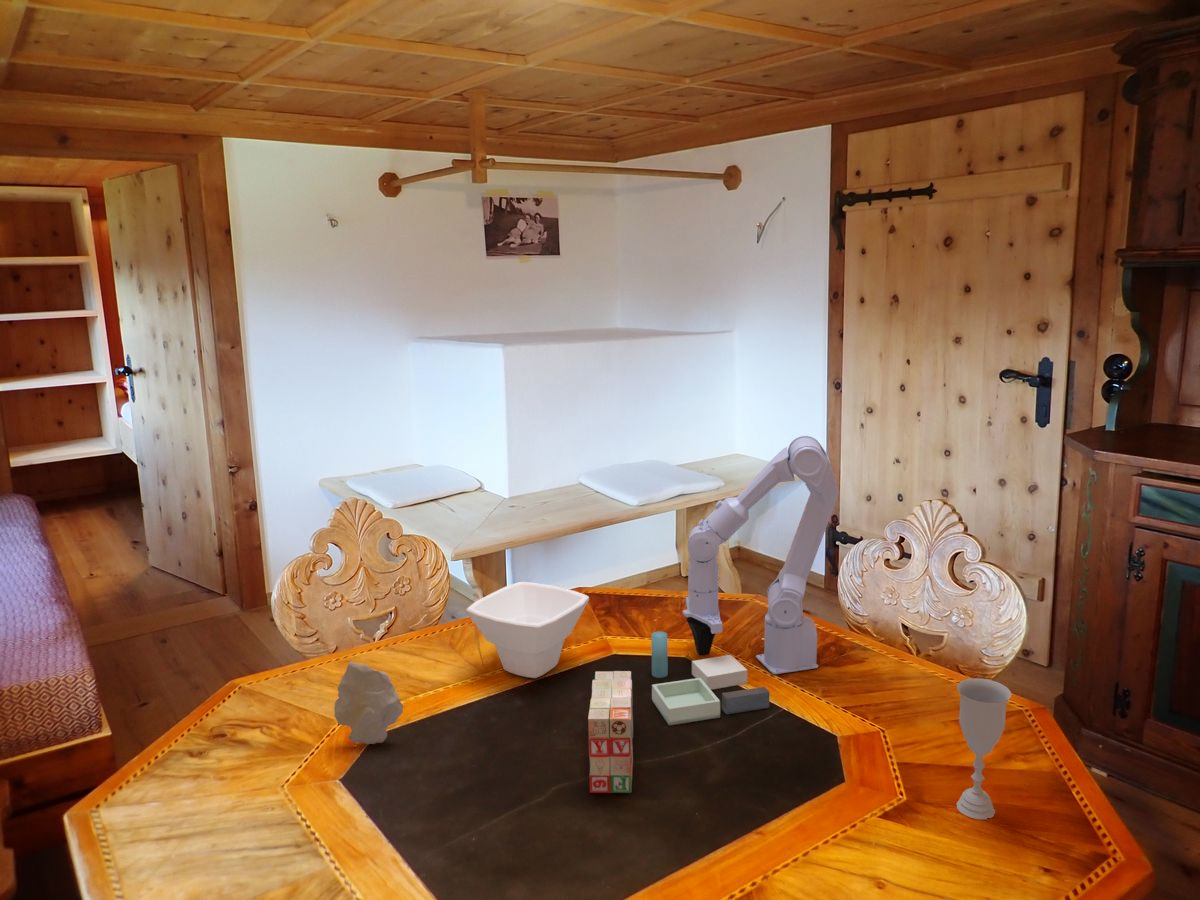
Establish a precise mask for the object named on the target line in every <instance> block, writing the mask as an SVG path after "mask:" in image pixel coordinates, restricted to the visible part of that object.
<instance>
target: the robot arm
mask: <svg viewBox="0 0 1200 900" xmlns="http://www.w3.org/2000/svg"><path fill="white" fill-rule="evenodd" d="M795 475H796V477H798V479H800V480H801V481H802V482H803V483H804V485H805V486H806V488H807V490H808V491H809V496H808V499H807V501H806V504H805V507H804V510H803V512H802V515H801V517H800V521H799V523H798V526H797V528H796V531H795V535H794V536H793V539H792V543H791V545H790V548H789V550H788V553H787V555H786V559H785V561H784V564H783V567H782V568H781V569H780V571H779V572H778V575H777V577H776V579H775V580H774V581H772V583H771V584H770V585H769V586H768V588H767V591H766V597H767V602H768V606H767V608H768V609H767V613H766V614H765V616H764V651H763V652H764V653H762V654H756V656H755V658H756V659H757V660H758V661H759V662H760V663H761V664H762V665H763V666H764V667H765V668H766V669H767V670H768V671H769V672H770V673H771V674H773V675H780V674H786V673H793V672H799V671H808V670H813V669H818V668H819V665H818V664H817V660H818V659H817V657H818V656H817V655H818V653H817V652H818V651H817V650H818V631H817V627H816V625H815V622H814V620H813V619H812V618H811V617H809V616H803V615H804V614H803V612H804V610H803V599H804V598H805V597H804V596H805V593H806V587H807V581H808V577H809V575H810V572H811V569H812V567H813V564H814V563H815V559H816V556H817V553H818V552H819V547H820V545H821V543H822V540H823V538H824V535H825V532H826V530H827V527H828V523H829V522H830V518H831V516H832V514H833V511H834V508H835V506H836V503H837V500H838V498H839V494H840V492H839V487H838V484H837V480H836V478H835V473H834V471H833V466H832V463H831V461H830V458H829V456H828V453H827V452H826V451H825V449H824V447H823V446H822V444H821V443H820V442H819V441H818V440H817V439H816V438H814V436H813V437H812V436H809V435H801V436H800V435H799V436H798V437H795V438H794V439H793V440H792V441H791V442H790V443H789V446H785V447H784V448H782V449H781V450H780V451H779V452H778V453H777V454H776V455H775V456H774V457H773V458H772V459H770V460H769V462H767V464H766V465H765V467H764V468H763V469H762V470H760V472H759V473H758V474H757V475H756V476H755V477H754V478H753V479H752V480H751V482H750V483H749V484H748V485H747V486H746V487H745V488H744V489H743V490H742V491H741V492H740V493H739V494H738V495H737V496H735V497H726V498H725V499H724V500H720V499H719V500H717V502H716V503H715V507H716V508H715V509H714V510H713V511H712V512H711V513H710V514H709V515H708V516H707V517H706V518H705V519H703V518H702V519H700V520H699V521H698V525H697V526H695V527H693V528H692V529H691V531H690V533H689V536H688V540H687V552H688V554H689V555H688V562H689V563H688V565H687V566H688V567H687V568H688V569H687V570H688V572H687V573H688V574H687V576H688V578H687V579H688V582H687V583H688V585H687V586H688V587H687V588H688V590H687V591H688V596H685V607H686V609H683V610H682V615H683V616H684V617H686V623H687V624H688V625H689V628H690V631H691V634H692V638H693V641H694V646H695V650H696V654H697V655H698V656H699V657H704V656H710V654H711V650H712V646H713V642H714V639H715V636H716V635H717V634H721V633H723V622H722V620H721V615H720V608H719V564H718V555H719V550H720V545H721V544H725V543H726V542H727V541H729V540H730V539H731V537H732V536H733V535H734V534H735V533H736V532H737V531H739V530H740V529H741V527H743V525H744V524H746V523H747V522H748V521H749V519H750V518H749V513H750V512H749V510H750V509H752V508H753V506H755V505H756V504H757V503H758V502H759V501H760V500H761V499H762V498H763V497H764V496H766V495H767V494H768V493H769V492H770V491H771V490H772V489H774V488H775V487H776V486H777V485H778V484H780V483H785V482H786V483H787V482H795Z"/></svg>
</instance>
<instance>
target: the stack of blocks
mask: <svg viewBox="0 0 1200 900" xmlns="http://www.w3.org/2000/svg"><path fill="white" fill-rule="evenodd" d="M594 673H595V674H594V679H592V681H591V682H592V683H591V698H590V702H589V703H590V704H589V711H588V717H587V722H588V723H587V725H588V726H587V728H588V729H587V731H588V757H589V774H588V775H589V776H588V777H589V793H590V794H613V793H614V794H615V793H616V794H631V793H632V785H633V784H632V782H633V768H634V767H633V766H634V765H633V763H634V757H633V756H634V753H633V738H634V714H633V713H634V712H633V705H634V703H633V680H632V671H630V670H627V671H626V670H624V671H623V670H613V671H611V670H610V671H595V672H594Z"/></svg>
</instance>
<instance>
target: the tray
mask: <svg viewBox="0 0 1200 900" xmlns="http://www.w3.org/2000/svg"><path fill="white" fill-rule="evenodd" d="M651 701H652V702H653V704H654V705H655V707H656V708H657V710H658V712H660V715H661V716H662V717H663V719H664V721H665V722H666V723H667V725H668V726H674V725H680V724H681V725H682V724H687V723H692V722H699V721H706V720H712V719H718V718H721V700H720V698H718V697H717V695H715V693H714V692H713V690H710V688H709V687H708V686H707V685H706V684H705V682H704V681H703V680H702V679H701V678H695V677H694V678H689V679H682V680H677V681H670V682H669V681H668V682H662V683H655V684H651Z"/></svg>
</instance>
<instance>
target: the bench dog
mask: <svg viewBox="0 0 1200 900" xmlns="http://www.w3.org/2000/svg"><path fill="white" fill-rule="evenodd" d="M770 693H771V692H770V691H769V689H768V688H767V687H766V686H761V687H754V688H747V689H741V690H734V691H727V692H722V693H721V710H722V711H723V712H724V713H725V715H732V714H738V713H745V712H750V711H758V710H764V709H769V708H770Z"/></svg>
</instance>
